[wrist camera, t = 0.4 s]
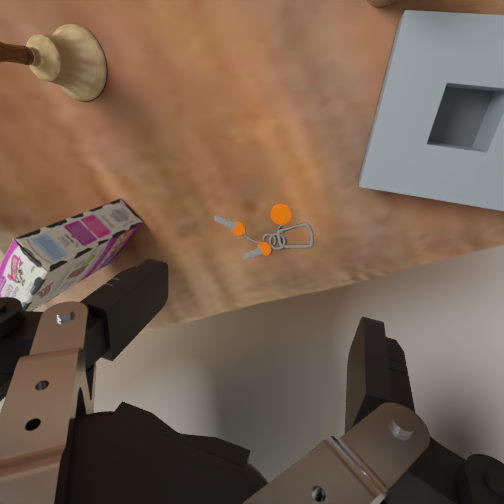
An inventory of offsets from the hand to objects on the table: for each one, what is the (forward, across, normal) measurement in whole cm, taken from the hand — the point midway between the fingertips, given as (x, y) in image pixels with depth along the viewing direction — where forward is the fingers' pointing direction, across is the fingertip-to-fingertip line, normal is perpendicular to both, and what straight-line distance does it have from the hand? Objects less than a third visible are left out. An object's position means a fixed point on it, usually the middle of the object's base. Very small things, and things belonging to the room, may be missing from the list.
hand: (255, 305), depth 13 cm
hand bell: (+28, +32, -8) cm, 43 cm away
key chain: (+28, +6, +9) cm, 30 cm away
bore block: (+27, -11, -7) cm, 30 cm away
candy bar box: (+27, +29, +14) cm, 42 cm away
